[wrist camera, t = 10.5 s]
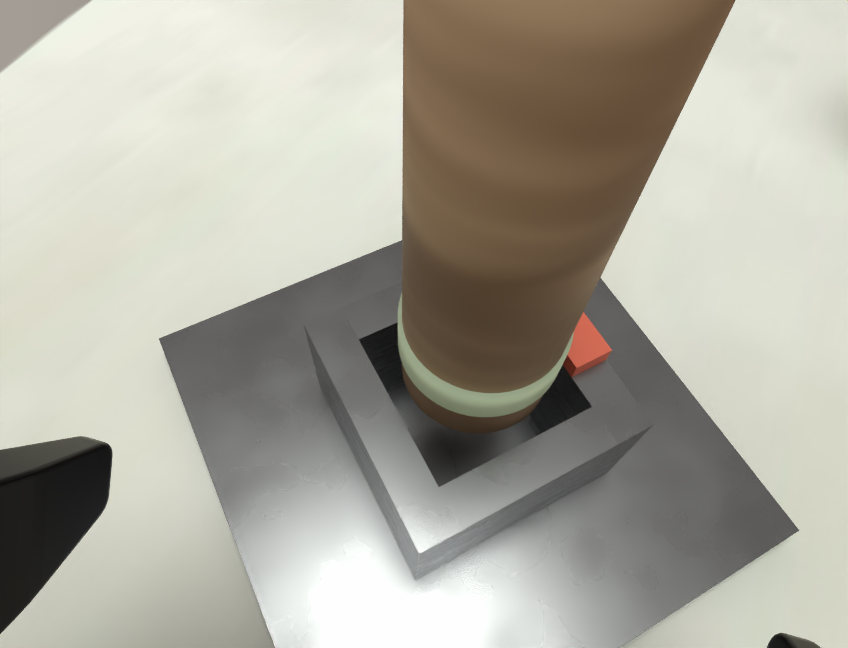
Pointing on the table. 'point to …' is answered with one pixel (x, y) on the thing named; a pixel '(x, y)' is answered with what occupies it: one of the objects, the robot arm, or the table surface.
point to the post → (525, 180)
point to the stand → (458, 480)
